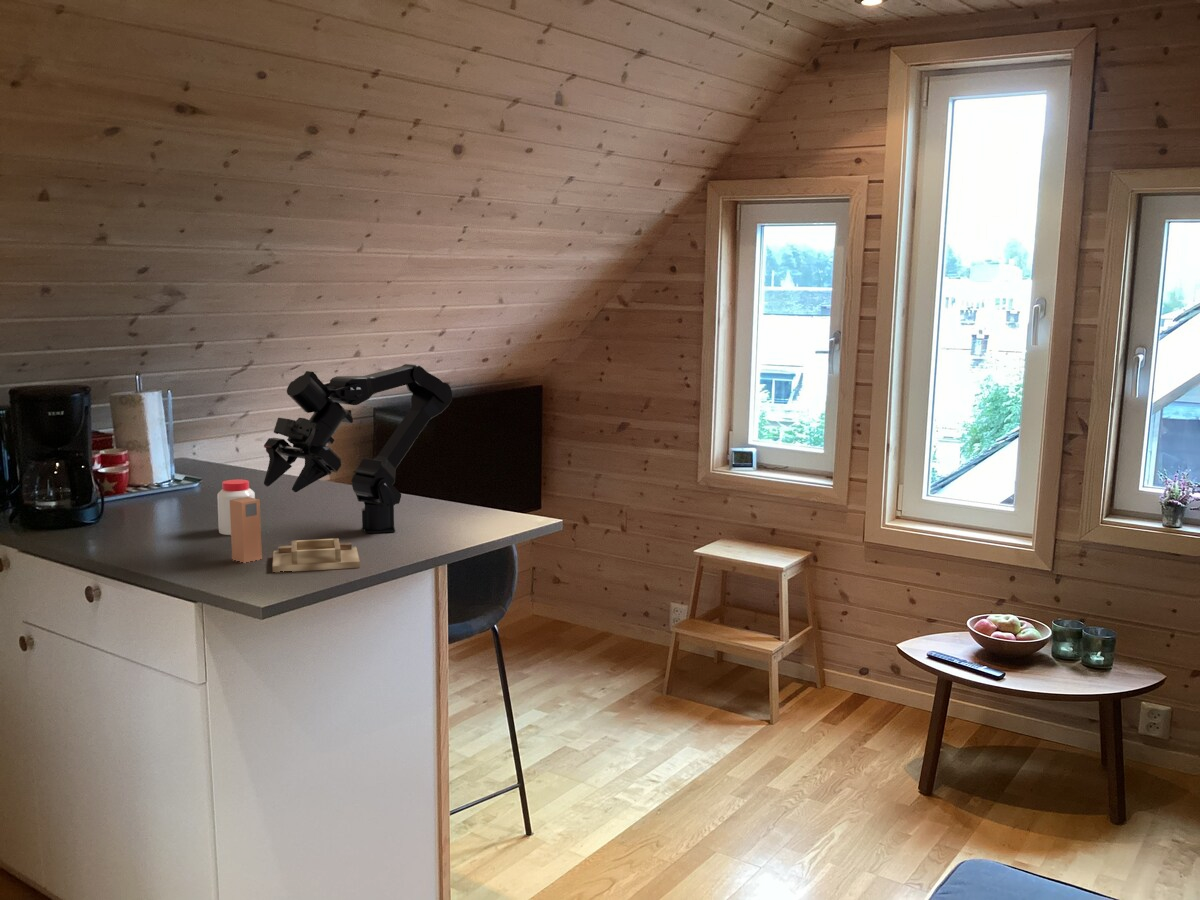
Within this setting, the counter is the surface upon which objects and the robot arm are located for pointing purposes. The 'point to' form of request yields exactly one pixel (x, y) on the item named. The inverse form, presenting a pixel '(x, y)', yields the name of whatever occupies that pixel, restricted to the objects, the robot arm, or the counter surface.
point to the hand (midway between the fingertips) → (279, 488)
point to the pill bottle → (229, 492)
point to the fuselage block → (245, 529)
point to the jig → (315, 556)
